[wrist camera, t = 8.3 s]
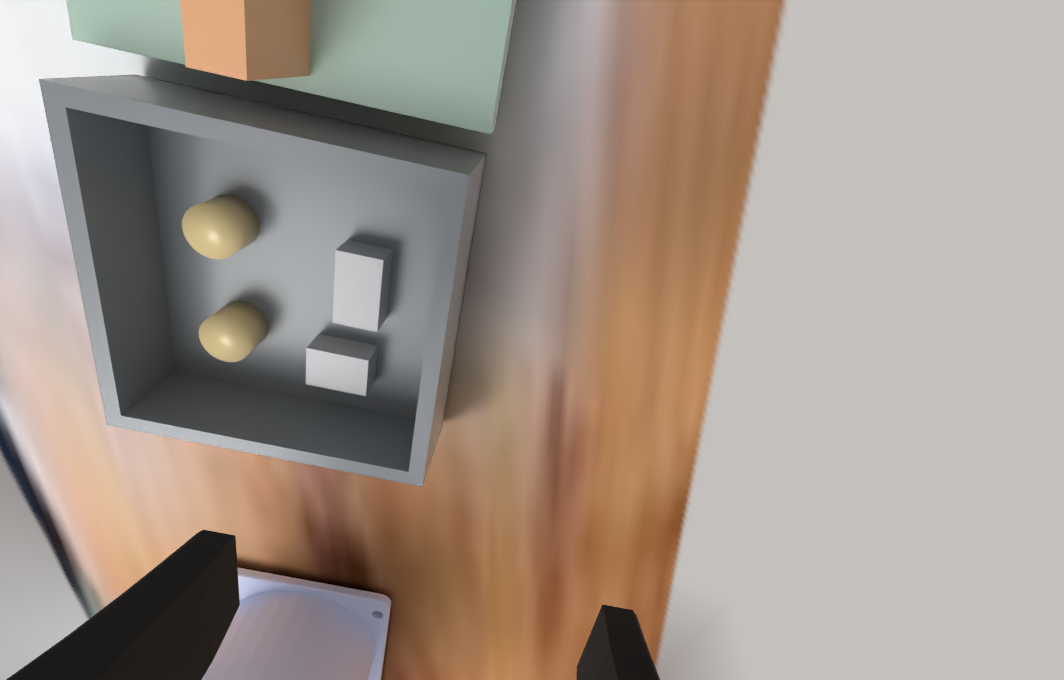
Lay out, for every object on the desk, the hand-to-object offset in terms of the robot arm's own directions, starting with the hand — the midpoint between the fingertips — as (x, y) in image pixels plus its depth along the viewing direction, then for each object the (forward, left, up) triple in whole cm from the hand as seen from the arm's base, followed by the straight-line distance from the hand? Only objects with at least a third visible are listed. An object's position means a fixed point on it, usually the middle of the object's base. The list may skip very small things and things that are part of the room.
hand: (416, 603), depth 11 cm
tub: (+2, +6, -9) cm, 11 cm away
